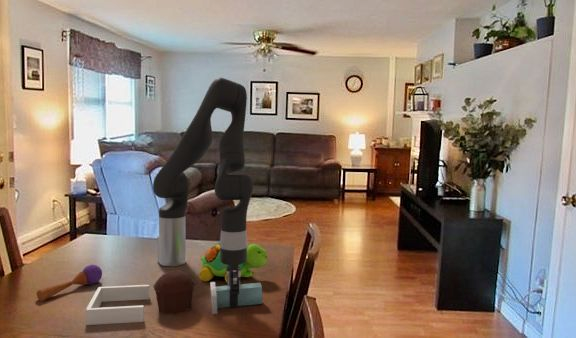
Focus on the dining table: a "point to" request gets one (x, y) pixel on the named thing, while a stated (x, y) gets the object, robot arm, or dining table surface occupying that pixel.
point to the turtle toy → (215, 267)
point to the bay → (117, 313)
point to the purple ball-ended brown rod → (73, 282)
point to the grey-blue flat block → (247, 295)
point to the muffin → (174, 292)
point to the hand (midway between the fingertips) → (233, 303)
